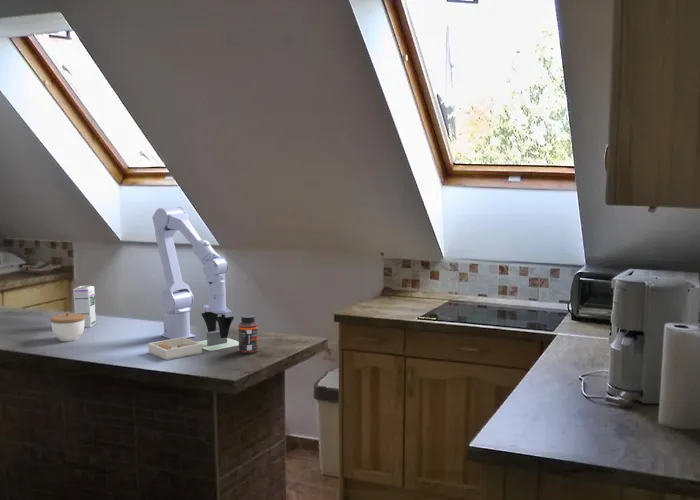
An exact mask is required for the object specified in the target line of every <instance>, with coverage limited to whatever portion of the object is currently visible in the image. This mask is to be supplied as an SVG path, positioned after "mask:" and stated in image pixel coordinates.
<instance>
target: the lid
mask: <svg viewBox="0 0 700 500" xmlns="http://www.w3.org/2000/svg"><path fill="white" fill-rule="evenodd" d="M197 342H198V343H201V344H202V350H206V351H208V352H214V351H219V350H223V349H228V348H233V347H239V340H235V339H232V338H229V337H228V336H227V337H226V338H221V337H220V330H219V329H216V331H212V332H208V331H207V332H206V339H205V340H201V341H200V340H199V341H197Z"/></svg>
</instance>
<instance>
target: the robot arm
mask: <svg viewBox="0 0 700 500" xmlns="http://www.w3.org/2000/svg"><path fill="white" fill-rule="evenodd" d="M189 218H190V215H189V214H188V212H187V211H186V210H185V208H184V207H182V206H176V207H167V208H165V207H160V208H159V207H158V208H157V209H156V210H155V211H154V214H153V216H152V222H153V226H154V227H153V228H154V231H155V235H154V236H155V238H156V243H157V248H158V252H159V256H160V261H161V267H162V270H163V274H164V280H165V286H164V287H163V289H162V290H161V297H162V298H161V304H162V308H163V310H164V311H165V313H164V315H163V334H161V337H164V338H166V339H168V340H169V339H175V338H180V337H184V338H187V339H190V338H195V337H196V335H195V334H193V333H191V324H190V323H191V319H190V316H191V315H190V311H191V310H192V307H193V306H194V304H195V303H194V302H195V297H194V294H193V293H192V291H191V288H190V285H188V284H187V283H185V282H184V280H183V275H182V272H181V268H180V264H179V259H178V254H177V250H176V246H175V240H174V235H175V233H177V231H179V232H180V234H182V235H183V236H184V238H185V239H186V240H187V241H188V242H189V243H190V244H191V246H192V253H193V254H194V256H196V258H197V259H198V260H199V262H200V263H201V264H202V265H203V266H202V271H203V274H204V276H205V280H206V282H207V283H206V285H207V304H204V305H203V307H202V308H203V312H202V313H201V314H200V315H201V317H202V318H203V320H204V322H205V326H206V328H207V332H212V331H217V324H218V330H220V337H221V338H226V337H227V338H228V337H229V336H228V335H229V333H230V327H231V324H232V323H233V320H234V317H235V316H233V313H232V310H230V309H229V308H228V307H227V298H226V297H227V294H226V293H227V292H226V274H227V273H228V271H229V268H230V266H229V261H228V260H227V258H226V257H224V256H222V255H220V254H218V252H217V251H216V250H215V249H214V248H213V247H212V245H211V243H210V242H209V241H208V240H205V239H202V238H201V237H200V235H199V234H198V232H197V231H196V229H195V227H194V226H193V225H192V223H191V221H190V219H189Z"/></svg>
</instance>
